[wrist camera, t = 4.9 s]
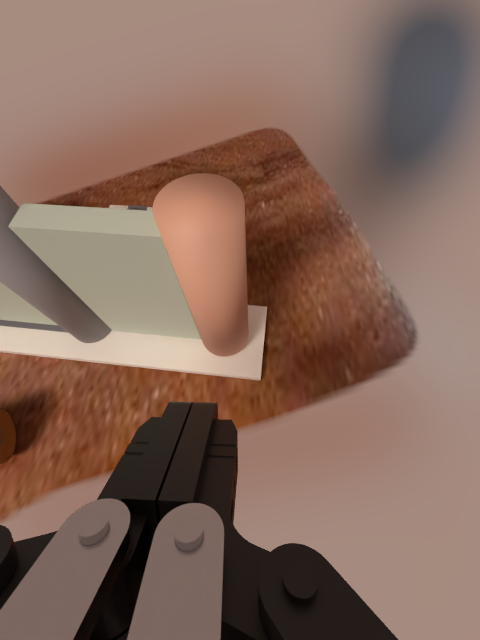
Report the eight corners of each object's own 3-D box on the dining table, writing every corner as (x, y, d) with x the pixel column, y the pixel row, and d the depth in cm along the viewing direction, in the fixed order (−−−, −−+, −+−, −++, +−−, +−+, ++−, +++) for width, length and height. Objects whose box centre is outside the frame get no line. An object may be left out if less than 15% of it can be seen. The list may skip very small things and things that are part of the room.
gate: (109, 345, 19) (-28, 224, 10) (123, 304, 20) (14, 164, 11) (245, 359, 18) (238, 243, 9) (251, 315, 20) (249, 175, 10)
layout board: (-89, 342, 21) (-96, 339, 20) (4, 202, 26) (0, 197, 26) (260, 380, 18) (260, 378, 18) (275, 218, 24) (275, 214, 24)
